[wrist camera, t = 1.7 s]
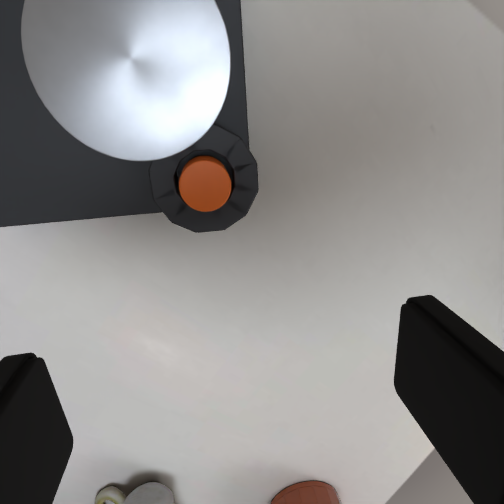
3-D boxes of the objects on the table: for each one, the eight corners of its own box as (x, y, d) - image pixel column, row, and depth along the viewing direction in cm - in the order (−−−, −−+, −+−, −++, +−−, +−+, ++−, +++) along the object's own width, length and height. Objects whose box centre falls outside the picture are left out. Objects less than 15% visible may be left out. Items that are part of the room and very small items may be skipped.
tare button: (226, 153, 17) (229, 157, 16) (230, 201, 18) (233, 209, 17) (177, 157, 17) (175, 162, 15) (183, 205, 18) (182, 214, 16)
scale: (236, -48, 17) (244, -85, 14) (251, 209, 22) (260, 226, 19) (-83, -43, 16) (-156, -83, 12) (10, 232, 20) (-26, 255, 17)
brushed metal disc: (221, -66, 14) (222, -70, 14) (237, 153, 17) (238, 154, 17) (-5, -63, 13) (-11, -68, 13) (56, 167, 16) (53, 168, 16)
